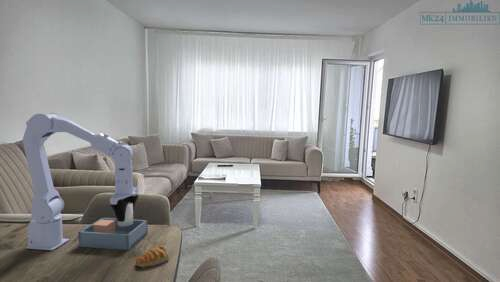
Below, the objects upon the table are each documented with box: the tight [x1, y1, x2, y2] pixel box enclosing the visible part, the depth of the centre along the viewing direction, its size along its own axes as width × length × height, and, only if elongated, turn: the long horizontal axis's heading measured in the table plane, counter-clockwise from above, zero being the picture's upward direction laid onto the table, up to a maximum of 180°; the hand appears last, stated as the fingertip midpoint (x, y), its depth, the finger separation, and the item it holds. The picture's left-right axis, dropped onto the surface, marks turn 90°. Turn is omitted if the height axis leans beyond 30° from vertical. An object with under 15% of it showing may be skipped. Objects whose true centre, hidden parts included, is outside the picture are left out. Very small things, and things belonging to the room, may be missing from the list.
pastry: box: [135, 245, 170, 268], centre depth 92 cm, size 9×7×4 cm
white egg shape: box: [118, 202, 134, 226], centre depth 105 cm, size 5×5×7 cm
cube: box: [93, 220, 115, 234], centre depth 107 cm, size 5×5×5 cm
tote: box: [77, 217, 149, 251], centre depth 107 cm, size 18×14×5 cm
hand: (125, 218), depth 106 cm, fingers closed on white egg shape, 5 cm apart
